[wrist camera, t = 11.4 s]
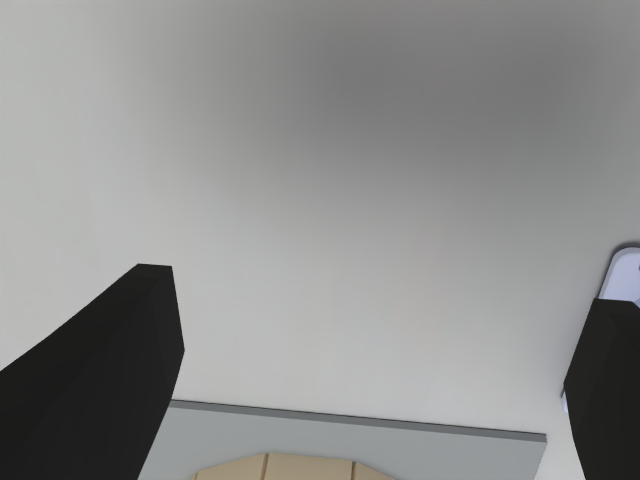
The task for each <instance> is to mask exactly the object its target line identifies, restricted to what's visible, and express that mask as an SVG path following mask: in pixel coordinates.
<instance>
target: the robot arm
mask: <svg viewBox="0 0 640 480" xmlns="http://www.w3.org/2000/svg"><path fill="white" fill-rule="evenodd" d="M639 265H640V248H633V247H632V248H625V249H622V250H620V251H619V252H617V253H616V254H615V255H614V257H613V259H612V261H611V264H610V267H609V270H608V272H607V275H606V278H605V281H604V283H603V286H602V289H601V292H600V294H599V297H598V298H594V300H593V302H592V305H591V308H590V311H589V314H588V316H587V319H586V322H585V325H584V327H583V330H582V333H581V336H580V339H579V341H578V344H577V347H576V350H575V353H574V355H573V358H572V361H571V364H570V367H569V369H568V372H567V375H566V378H565V381H564V389H565V391H564V393H563V396H562V399H561V405H562V409H563V411H564V412H565V413H567V414H569V419H570V425H571V430H572V435H573V440H574V443H575V447H576V450H577V453H578V456H579V460H580V463H581V466H582V469H583V473H584V476H585V479H586V480H640V266H639ZM184 351H185V349H184V342H183V336H182V329H181V323H180V316H179V310H178V303H177V297H176V290H175V284H174V277H173V271H172V266H164V265H151V264H137V265H136V266H134V267H133V268H132V269H130V270H129V271H128V272H127V273H125V274H124V275H123V276H122V277H121V278H119V279H118V280H117V281H116V282H114V283H113V284H112V285H111V286H110V287H108V288H107V289H106V290H105V291H104V292H102V293H101V294H100V295H99V296H98V297H96V298H95V299H94V300H93V301H92V302H90V303H89V304H88V305H87V306H85V307H84V308H83V309H82V310H80V311H79V312H78V313H77V314H75V315H74V316H73V317H72V318H70V319H69V320H68V321H67V322H65V323H64V324H63V325H62V326H60V327H59V328H58V329H57V330H55V331H54V332H53V333H52V334H50V335H49V336H48V337H46V338H45V339H44V340H42V341H41V342H40V343H38V344H37V345H36V346H34V347H33V348H31V349H30V350H29V351H27V352H26V353H25V354H23V355H22V356H20V357H19V358H18V359H16V360H15V361H14V362H12V363H11V364H9V365H8V366H7V367H5V368H4V369H3V370H1V371H0V480H138V477H139V475H140V473H141V470H142V468H143V466H144V463H145V461H146V459H147V456H148V454H149V452H150V449H151V447H152V445H153V442H154V440H155V437H156V435H157V433H158V430H159V428H160V426H161V423H162V421H163V418H164V416H165V414H166V411H167V409H168V406H169V404H170V401H171V398H172V394H173V391H174V388H175V384H176V381H177V377H178V374H179V370H180V366H181V362H182V359H183V355H184Z"/></svg>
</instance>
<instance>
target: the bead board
mask: <svg viewBox="0 0 640 480" xmlns="http://www.w3.org/2000/svg"><path fill="white" fill-rule="evenodd" d="M546 445H547V439H546V435H542V434H531V433H520V432H509V431H499V430H488V429H477V428H466V427H455V426H445V425H434V424H423V423H412V422H401V421H391V420H380V419H369V418H358V417H347V416H337V415H326V414H315V413H304V412H293V411H283V410H272V409H261V408H250V407H239V406H229V405H218V404H207V403H196V402H185V401H175V400H171V401H170V404H169V406H168V409H167V411H166V414H165V416H164V418H163V421H162V423H161V426H160V428H159V430H158V433H157V435H156V437H155V440H154V442H153V445H152V447H151V449H150V452H149V454H148V456H147V459H146V461H145V463H144V466H143V468H142V470H141V473H140V475H139V477H138V480H534V478H535V475H536V473H537V470H538V467H539V464H540V462H541V459H542V456H543V453H544V451H545V448H546Z"/></svg>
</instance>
